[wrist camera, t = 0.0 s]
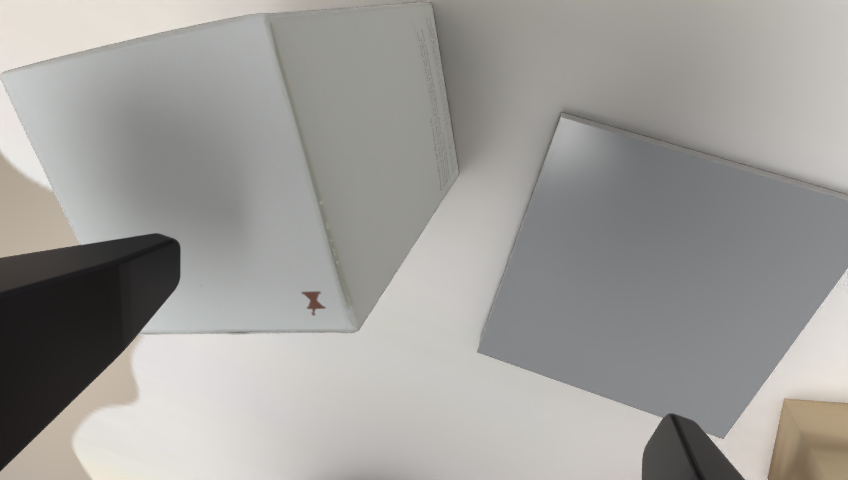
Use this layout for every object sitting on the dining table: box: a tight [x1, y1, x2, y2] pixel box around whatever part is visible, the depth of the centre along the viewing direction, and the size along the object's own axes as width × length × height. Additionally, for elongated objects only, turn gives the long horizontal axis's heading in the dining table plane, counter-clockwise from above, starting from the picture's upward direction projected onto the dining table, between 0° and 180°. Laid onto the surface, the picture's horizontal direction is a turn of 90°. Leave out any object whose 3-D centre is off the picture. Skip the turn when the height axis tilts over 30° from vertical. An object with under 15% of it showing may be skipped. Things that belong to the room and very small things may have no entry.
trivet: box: [477, 112, 848, 439], centre depth 23 cm, size 12×12×1 cm
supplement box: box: [0, 2, 459, 335], centre depth 17 cm, size 7×7×13 cm
